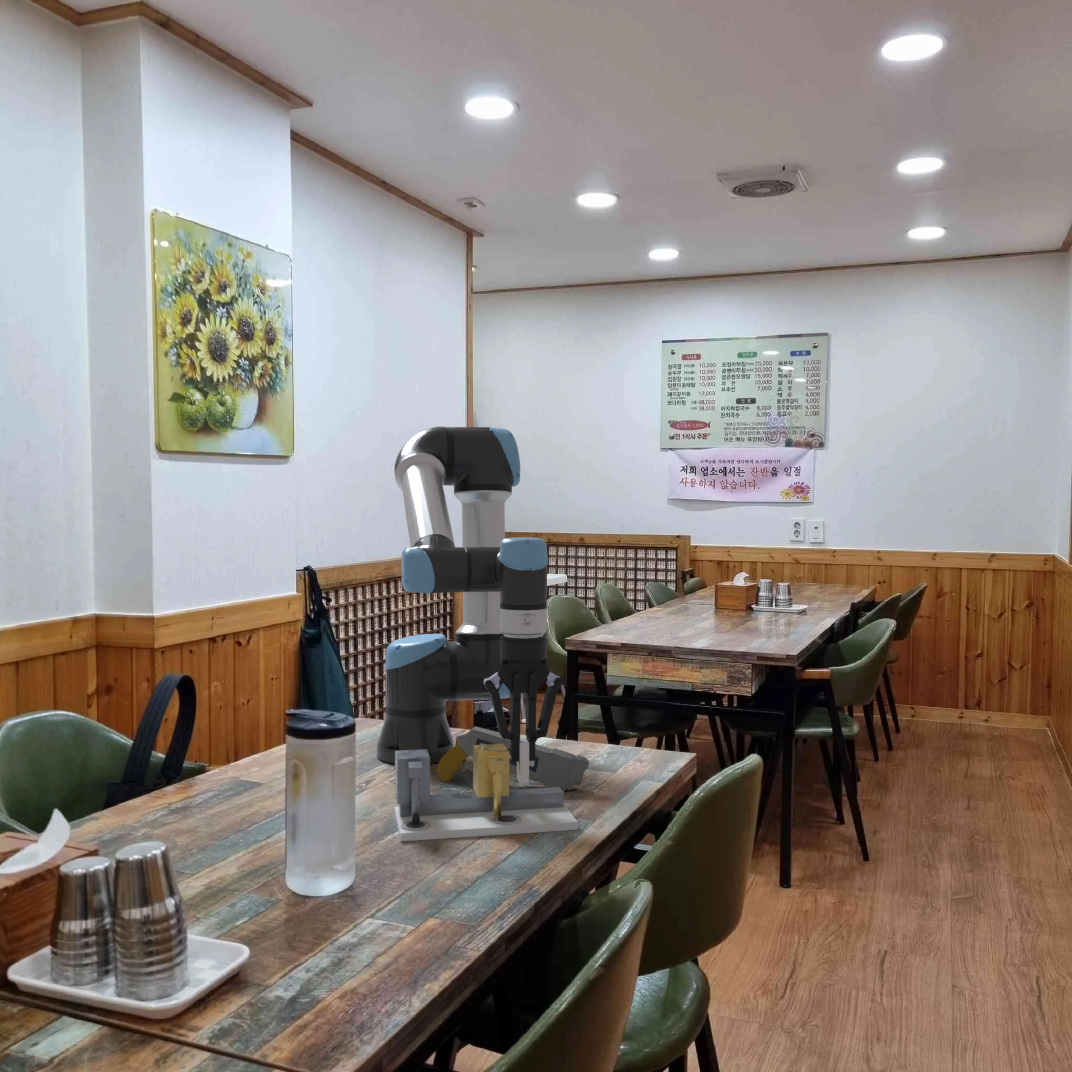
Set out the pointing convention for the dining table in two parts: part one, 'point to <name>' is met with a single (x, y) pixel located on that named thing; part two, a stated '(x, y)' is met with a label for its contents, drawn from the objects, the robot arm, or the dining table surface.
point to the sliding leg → (491, 773)
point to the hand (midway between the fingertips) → (522, 780)
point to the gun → (545, 769)
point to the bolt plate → (485, 823)
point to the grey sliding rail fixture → (419, 801)
